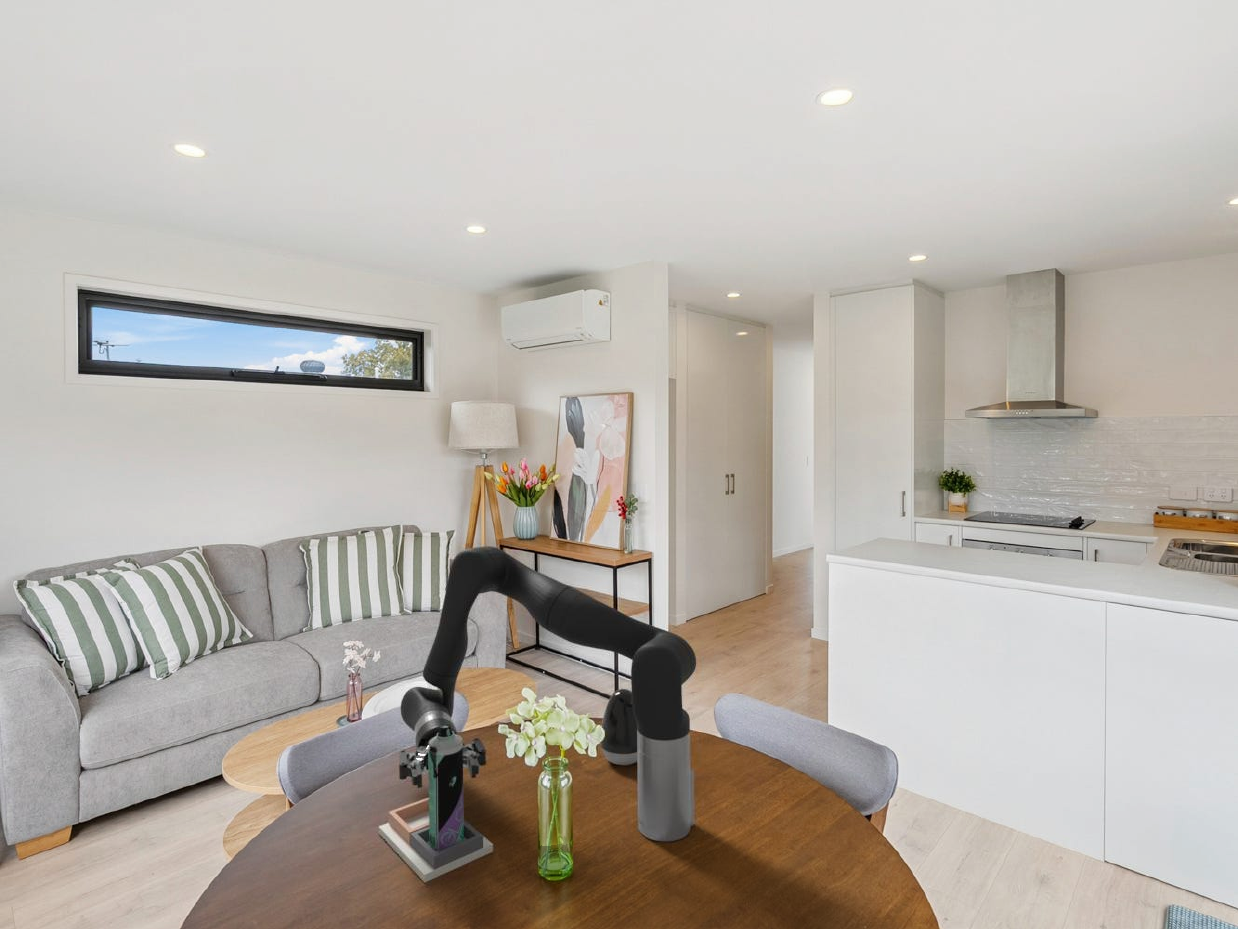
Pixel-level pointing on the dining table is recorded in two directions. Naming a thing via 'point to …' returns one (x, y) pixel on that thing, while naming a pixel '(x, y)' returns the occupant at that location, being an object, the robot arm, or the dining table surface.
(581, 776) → the dining table surface
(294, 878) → the dining table surface
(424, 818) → the board
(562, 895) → the dining table surface
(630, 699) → the black egg shaped dome
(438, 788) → the spray can
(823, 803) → the dining table surface
